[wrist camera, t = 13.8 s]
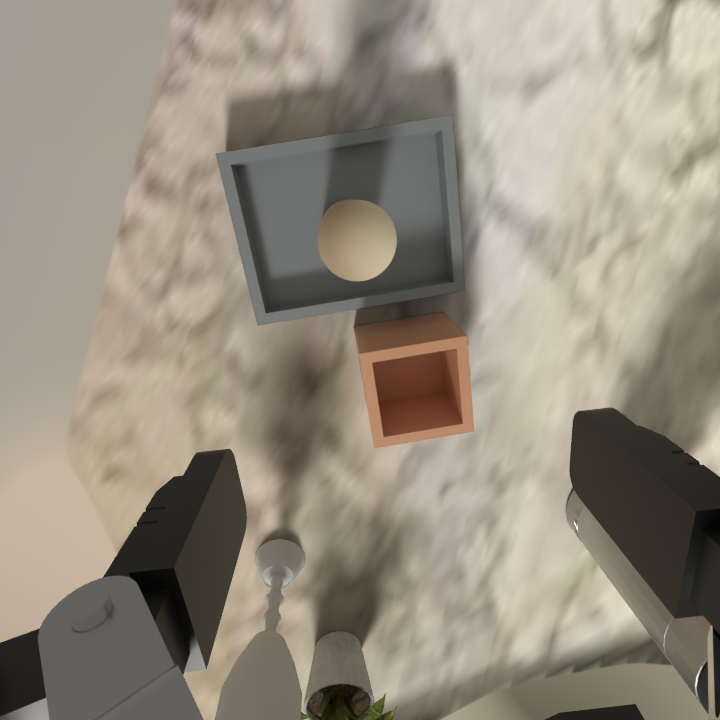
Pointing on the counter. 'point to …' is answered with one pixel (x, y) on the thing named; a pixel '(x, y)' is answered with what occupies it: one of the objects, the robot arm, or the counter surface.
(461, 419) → the terracotta open box
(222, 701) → the chalice
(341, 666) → the house plant
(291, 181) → the tray
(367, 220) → the peg
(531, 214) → the counter surface
